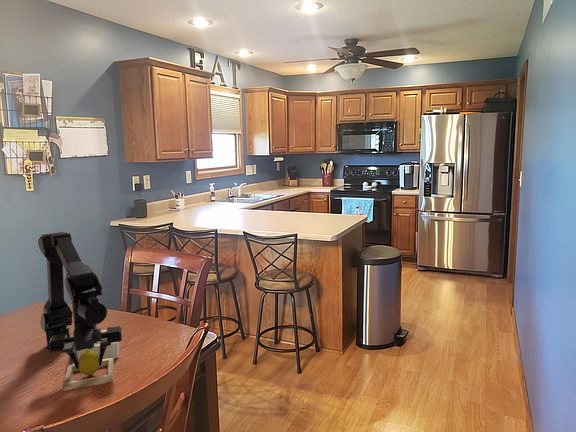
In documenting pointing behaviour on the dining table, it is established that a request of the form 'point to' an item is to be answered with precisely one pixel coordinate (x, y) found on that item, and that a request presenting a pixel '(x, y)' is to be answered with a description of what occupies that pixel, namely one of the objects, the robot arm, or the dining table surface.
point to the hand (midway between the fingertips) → (89, 366)
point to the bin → (110, 351)
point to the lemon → (88, 362)
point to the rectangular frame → (89, 381)
